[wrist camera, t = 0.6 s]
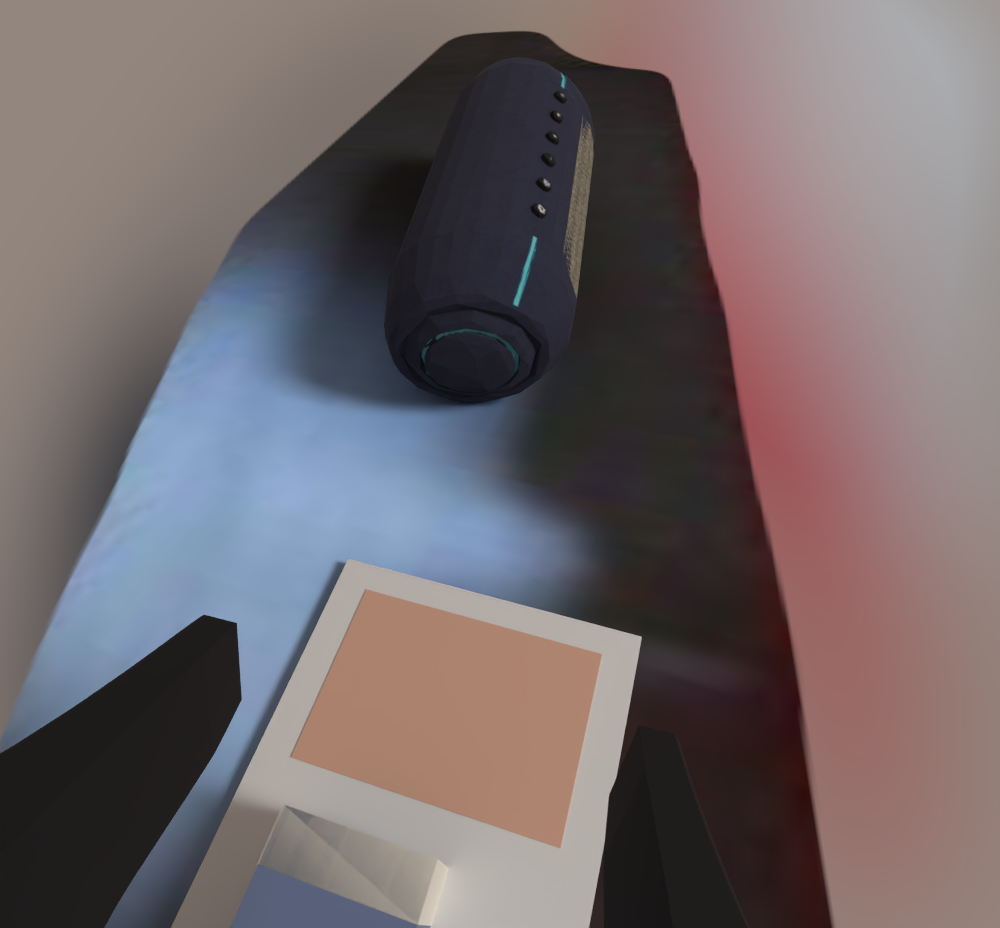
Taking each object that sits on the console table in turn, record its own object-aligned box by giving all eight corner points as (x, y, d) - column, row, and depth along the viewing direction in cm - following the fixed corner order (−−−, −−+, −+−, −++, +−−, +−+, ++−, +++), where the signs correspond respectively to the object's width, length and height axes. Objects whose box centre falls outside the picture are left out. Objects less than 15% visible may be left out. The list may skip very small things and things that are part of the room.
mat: (494, 1437, 17) (492, 1454, 16) (47, 1201, 20) (34, 1209, 19) (639, 641, 29) (642, 636, 28) (351, 564, 32) (347, 557, 31)
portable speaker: (563, 439, 36) (574, 294, 28) (386, 422, 37) (347, 279, 29) (592, 181, 50) (605, 36, 42) (464, 175, 51) (452, 33, 43)
